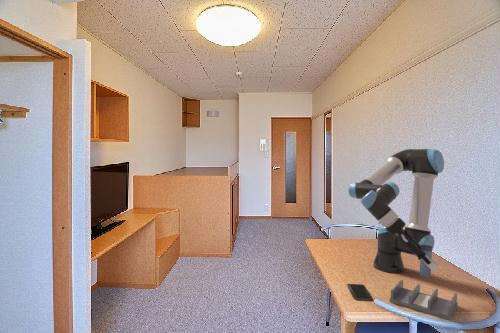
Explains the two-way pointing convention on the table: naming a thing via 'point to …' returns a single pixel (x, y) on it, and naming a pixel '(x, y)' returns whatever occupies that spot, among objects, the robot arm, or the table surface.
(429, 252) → the grey cylinder
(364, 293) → the phone
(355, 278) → the table surface
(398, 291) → the rack
